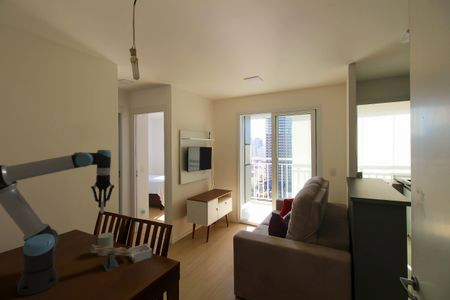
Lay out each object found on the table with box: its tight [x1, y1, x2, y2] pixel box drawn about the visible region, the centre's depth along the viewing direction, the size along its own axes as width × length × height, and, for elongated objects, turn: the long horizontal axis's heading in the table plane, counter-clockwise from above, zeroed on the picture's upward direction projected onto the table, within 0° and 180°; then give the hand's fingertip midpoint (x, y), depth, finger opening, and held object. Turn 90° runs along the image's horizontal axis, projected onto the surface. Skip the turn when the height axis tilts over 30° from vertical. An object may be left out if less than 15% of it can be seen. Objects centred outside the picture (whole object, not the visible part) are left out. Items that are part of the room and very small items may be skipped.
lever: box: [89, 243, 132, 257], centre depth 127 cm, size 22×12×4 cm, turn 130°
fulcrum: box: [101, 253, 120, 272], centre depth 125 cm, size 7×10×8 cm
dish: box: [128, 243, 153, 264], centre depth 136 cm, size 11×11×5 cm
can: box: [96, 232, 114, 257], centre depth 141 cm, size 9×9×12 cm
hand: (101, 212), depth 132 cm, fingers closed
